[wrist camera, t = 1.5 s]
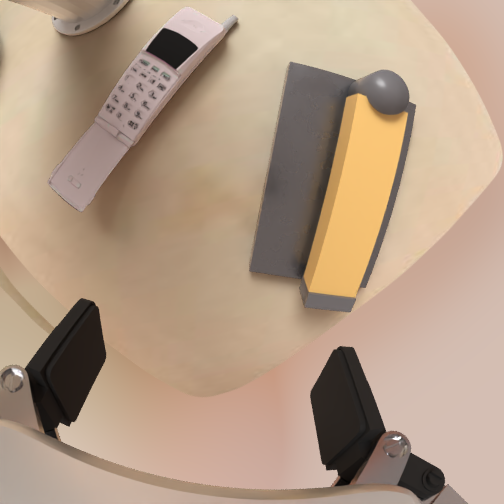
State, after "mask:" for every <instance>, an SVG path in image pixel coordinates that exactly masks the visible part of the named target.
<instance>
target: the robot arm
mask: <svg viewBox="0 0 504 504" xmlns="http://www.w3.org/2000/svg"><path fill="white" fill-rule="evenodd" d="M9 1H12V2H15V3H18V4H21V5H24V6H27V7H30V8H33V9H35V10H38V11H41V12H43V13H46V14H48V15H51V16H52V23H53V26H54V28H55V29H56V30H57V31H58V32H60V33H62V34H65V35H71V36H75V35H81V34H84V33H87V32H90V31H92V30H94V29H96V28H98V27H99V26H101V25H102V24H104V23H106V22H107V21H108V20H109V19H111V18H112V17H113V16H115V15H116V14H117V13H118V12H119V11H120V10H121V9H122V8H123V7H124V6H125V4H126V3H127V2H128V1H129V0H9ZM105 359H106V350H105V345H104V340H103V334H102V328H101V321H100V314H99V308H98V307H97V306H96V305H95V302H93V301H90V300H86V299H83V298H81V299H80V300H79V301H78V302H77V303H76V304H75V305H74V306H73V308H72V309H71V310H70V311H69V312H68V314H67V315H66V316H65V317H64V319H63V320H62V321H61V322H60V323H59V325H58V326H56V327H55V329H54V330H53V331H52V333H51V334H50V335H49V336H48V338H47V339H46V340H45V342H44V343H43V344H42V346H41V347H40V348H39V350H38V351H37V352H36V354H35V355H34V357H33V358H32V359H31V361H30V362H29V364H28V365H27V366H26V368H25V369H24V368H22V367H20V366H18V365H9V366H6V367H5V368H3V369H2V370H1V371H0V504H468V503H467V502H466V501H465V500H464V499H463V498H462V497H461V496H460V495H459V494H458V493H456V491H455V490H453V488H452V487H450V486H449V484H447V485H446V486H445V485H444V483H445V477H444V474H443V472H442V471H441V470H440V469H439V468H437V467H435V466H434V465H432V464H430V463H428V462H426V461H425V460H423V459H421V458H419V457H417V456H416V455H414V454H412V453H410V452H411V445H410V442H409V440H408V439H407V437H406V436H405V435H403V434H402V433H400V432H397V431H389V432H386V430H385V427H384V424H383V421H382V419H381V415H380V413H379V410H378V407H377V404H376V402H375V399H374V396H373V394H372V391H371V388H370V386H369V384H368V381H367V380H366V377H365V375H364V372H363V369H362V367H361V364H360V362H359V359H358V357H357V355H356V352H355V350H354V348H353V347H342V346H340V347H338V348H337V350H333V352H332V354H331V356H330V357H329V359H328V361H327V363H326V365H325V367H324V369H323V370H322V372H321V374H320V376H319V378H318V380H317V382H316V383H315V385H314V387H313V389H312V390H311V395H310V398H311V404H312V409H313V415H314V420H315V426H316V431H317V437H318V443H319V449H320V455H321V461H322V464H324V465H326V470H337V471H338V477H337V479H336V480H335V481H334V483H333V484H332V485H331V487H326V488H312V489H291V490H262V489H241V488H229V487H219V486H211V485H203V484H197V483H191V482H185V481H180V480H175V479H170V478H166V477H161V476H157V475H153V474H149V473H145V472H141V471H138V470H135V469H131V468H128V467H125V466H122V465H119V464H116V463H113V462H110V461H107V460H104V459H101V458H99V457H96V456H94V455H91V454H88V453H86V452H84V451H81V450H79V449H76V448H74V447H72V446H70V445H67V444H65V443H63V442H61V439H60V436H59V433H58V430H57V427H58V425H59V423H62V424H64V425H66V426H70V424H71V422H75V420H76V419H77V417H78V415H79V413H80V410H81V408H82V406H83V404H84V402H85V400H86V398H87V396H88V394H89V392H90V390H91V388H92V385H93V384H94V382H95V379H96V378H97V376H98V374H99V372H100V370H101V368H102V366H103V364H104V362H105Z"/></svg>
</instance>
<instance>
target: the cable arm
mask: <svg viewBox="0 0 504 504" xmlns="http://www.w3.org/2000/svg"><path fill="white" fill-rule="evenodd" d="M408 103H409V91H408V88H407V86H406V84H405V82H404V81H403V79H402V78H401V77H400V76H399V75H397V74H396V73H394V72H392V71H389V70H379V71H377V72H374V73H372V74H370V75H367V76H365V77H363V78H360V79H358V80H356V81H354V82H353V83H352V84H351V86H350V87H349V91H348V97H346V102H345V107H344V112H343V118H342V123H341V128H340V133H339V137H338V142H337V147H336V151H335V156H334V161H333V165H332V169H331V174H330V178H329V182H328V186H327V191H326V195H325V199H324V203H323V207H322V211H321V215H320V218H319V222H318V226H317V230H316V234H315V237H314V241H313V245H312V248H311V252H310V255H309V259H308V262H307V266H306V269H305V273H304V275H303V277H302V280H301V283H300V287H299V289H300V293H301V296H302V300H303V303H304V307H306V308H315V309H324V310H333V311H343V312H351V310H352V307H353V305H354V303H355V300H356V299H355V296H356V294H357V291H358V289H359V286H360V284H361V281H362V279H363V276H364V273H365V271H366V268H367V265H368V262H369V259H370V257H371V254H372V251H373V248H374V245H375V242H376V239H377V236H378V233H379V230H380V227H381V223H382V220H383V217H384V214H385V210H386V207H387V203H388V200H389V196H390V193H391V189H392V185H393V181H394V177H395V173H396V169H397V165H398V161H399V156H400V152H401V147H402V142H403V137H404V132H405V127H406V122H407V116H408V113H407V112H404V110H405V109H406V108H407V106H408Z"/></svg>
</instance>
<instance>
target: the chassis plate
mask: <svg viewBox="0 0 504 504" xmlns="http://www.w3.org/2000/svg"><path fill="white" fill-rule="evenodd" d="M354 81H356V80H354V79H351V78H348V77H345V76H342V75H338V74H335V73H332V72H328V71H325V70H321V69H318V68H314V67H310V66H306V65H302V64H298V63H294V62H290V63H289V65H288V66H287V72H286V77H285V82H284V87H283V92H282V97H281V102H280V108H279V113H278V118H277V123H276V128H275V133H274V138H273V144H272V149H271V154H270V159H269V164H268V169H267V175H266V180H265V185H264V190H263V195H262V200H261V205H260V211H259V216H258V221H257V226H256V231H255V236H254V242H253V247H252V252H251V257H250V262H249V271H252V272H258V273H265V274H271V275H278V276H285V277H292V278H298V279H302V277H303V275H304V273H305V269H306V266H307V262H308V259H309V255H310V252H311V248H312V245H313V241H314V237H315V234H316V230H317V226H318V222H319V218H320V215H321V211H322V207H323V203H324V199H325V195H326V191H327V186H328V182H329V178H330V174H331V169H332V165H333V161H334V156H335V151H336V147H337V142H338V137H339V133H340V128H341V123H342V118H343V112H344V107H345V102H346V97H348V91H349V87H350V86H351V84H352V83H353V82H354ZM415 109H416V105H415V104H413V103H411V102H409V103H408V106H407V108H406V109H405V110H404V112H407V113H408V116H407V122H406V127H405V132H404V137H403V142H402V147H401V152H400V156H399V161H398V165H397V169H396V173H395V177H394V181H393V185H392V189H391V193H390V196H389V200H388V203H387V207H386V210H385V214H384V217H383V220H382V223H381V227H380V230H379V233H378V236H377V239H376V242H375V245H374V248H373V251H372V254H371V257H370V259H369V262H368V265H367V268H366V271H365V273H364V276H363V279H362V281H361V284H360V286H359V287H363V288H366V285H367V283H368V280H369V277H370V275H371V272H372V270H373V267H374V264H375V261H376V259H377V256H378V253H379V250H380V247H381V244H382V242H383V239H384V236H385V232H386V229H387V226H388V223H389V220H390V217H391V213H392V210H393V207H394V203H395V200H396V196H397V192H398V189H399V185H400V181H401V177H402V173H403V169H404V165H405V160H406V156H407V152H408V147H409V142H410V137H411V132H412V126H413V121H414V115H415Z"/></svg>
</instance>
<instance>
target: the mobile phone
mask: <svg viewBox="0 0 504 504" xmlns="http://www.w3.org/2000/svg"><path fill="white" fill-rule="evenodd" d="M237 20H238V18H237V17H236V16H234V15H232V16H231V17H230V18H228V19H227V20H226V21H225V22H223V23H222V24H219V23H218V22H216V21H214V20H213V19H211V18H209V17H207V16H206V15H204V14H202V13H200V12H198V11H197V10H195V9H193V8H191V7H184V8H182V9H181V10H180V11H179V12H177V13H176V14H175V15H174V16H173V17H172V18H171V19H170V20H169V21H167V22H166V23H165V24H164V25H163V26H162V27H161V28H160V29H159V30H158V31H157V32H156V33H155V35H154V36H153V37H152V38H151V39H150V40H149V41H148V42H147V43H146V45H145V46H144V47H143V48H142V49H141V51H140V52H139V54H138V55H137V56H136V57H135V59H134V60H133V61H132V63H131V64H130V65H129V67H128V68H127V69H126V71H125V72H124V74H123V75H122V77H121V78H120V80H119V81H118V83H117V84H116V86H115V87H114V89H113V90H112V92H111V94H110V95H109V97H108V98H107V100H106V102H105V103H104V105H103V107H102V108H101V110H100V112H99V114H98V116H96V117H95V120H94V121H95V122H94V123H93V124H92V125H91V127H90V128H89V129H88V130H87V131H86V132H85V133H84V134H83V136H82V137H81V138H80V139H79V140H78V142H77V143H76V144H75V145H74V146H73V148H72V149H71V150H70V151H69V153H68V154H67V155H66V156H65V158H64V159H63V160H62V162H61V163H60V164H58V165H57V166H56V167H55V169H54V170H53V172H52V174H51V177H50V178H49V180H48V184H49V185H50V187H51V188H52V189H53V190H54V191H55V192H56V193H57V194H58V195H59V196H60V197H61V198H62V199H64V200H65V201H66V202H67V203H68V204H70V205H71V206H72V207H74V208H75V209H76V210H78V211H80V212H83V210H84V209H85V207H86V206H87V205H89V204H90V203H91V201H92V200H93V198H94V197H95V193H96V192H97V191H98V189H99V188H100V187H101V185H102V184H103V182H104V181H105V180H106V178H107V177H108V175H109V174H110V173H111V171H112V170H113V169H114V167H115V166H116V165H117V163H118V162H119V161H120V160H121V158H122V157H123V156H124V155H125V153H126V152H127V151H128V150H129V148H130V147H132V146H135V145H136V144H137V142H138V141H139V140H140V138H141V137H142V135H143V134H144V133H145V131H146V130H147V129H148V127H149V126H150V125H151V123H152V122H153V121H154V119H155V118H156V117H157V115H158V114H159V113H160V111H161V110H162V109H163V108H164V106H165V105H166V104H167V103H168V101H169V100H170V99H171V98H172V96H173V95H174V94H175V92H176V91H177V90H178V89H179V88H180V86H181V85H182V84H183V83H184V82H185V80H186V79H187V78H188V77H189V76H190V74H191V73H192V72H193V71H194V70H195V68H196V67H197V66H198V65H199V64H200V63H201V62H202V61H203V59H204V58H205V57H206V56H207V55H208V54H209V53H210V52H211V50H212V49H213V48H214V47H215V46H216V45H217V44H218V43H219V42H220V41H221V40H222V38H223V37H224V36H225V34H226V33H227V32H228V30H229V29H230V28H231V27H232V26H233V25H234V24H235V23H236V21H237Z"/></svg>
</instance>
